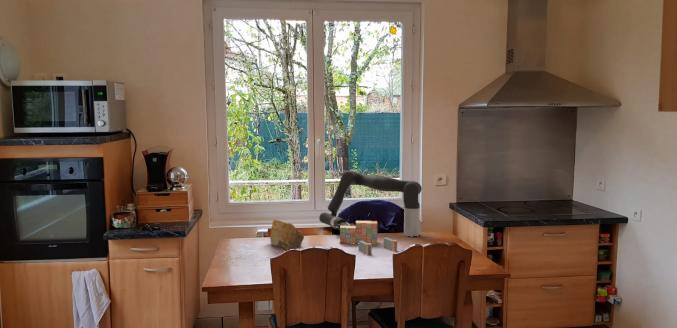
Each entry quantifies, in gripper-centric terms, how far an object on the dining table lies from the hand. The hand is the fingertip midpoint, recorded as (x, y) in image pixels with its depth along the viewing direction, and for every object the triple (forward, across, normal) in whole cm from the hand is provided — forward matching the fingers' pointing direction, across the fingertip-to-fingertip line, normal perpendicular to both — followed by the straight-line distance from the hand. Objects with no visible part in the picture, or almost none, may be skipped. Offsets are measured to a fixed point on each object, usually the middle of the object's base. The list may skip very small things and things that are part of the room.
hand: (351, 228), depth 270 cm
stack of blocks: (+10, -1, +6) cm, 12 cm away
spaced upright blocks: (+29, 0, +6) cm, 30 cm away
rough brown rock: (0, -40, +6) cm, 41 cm away
